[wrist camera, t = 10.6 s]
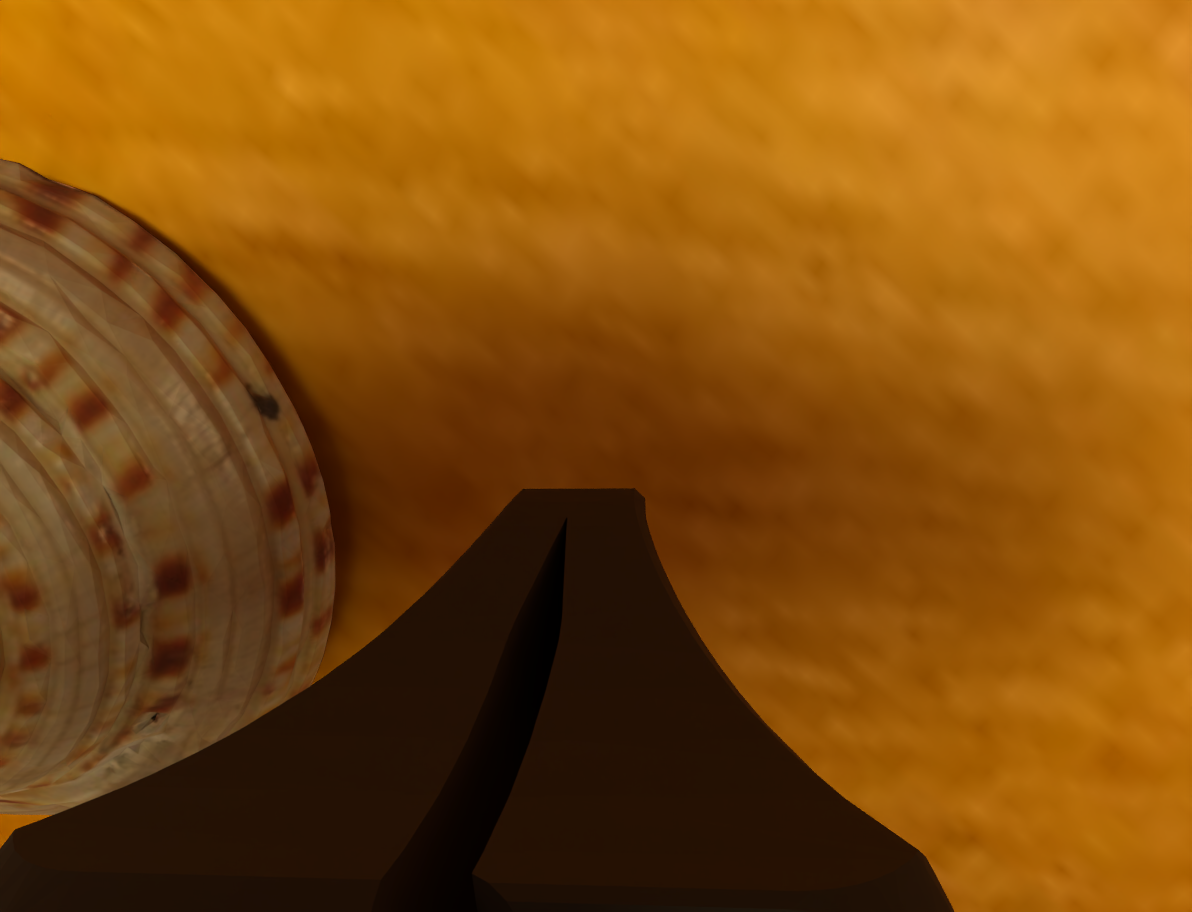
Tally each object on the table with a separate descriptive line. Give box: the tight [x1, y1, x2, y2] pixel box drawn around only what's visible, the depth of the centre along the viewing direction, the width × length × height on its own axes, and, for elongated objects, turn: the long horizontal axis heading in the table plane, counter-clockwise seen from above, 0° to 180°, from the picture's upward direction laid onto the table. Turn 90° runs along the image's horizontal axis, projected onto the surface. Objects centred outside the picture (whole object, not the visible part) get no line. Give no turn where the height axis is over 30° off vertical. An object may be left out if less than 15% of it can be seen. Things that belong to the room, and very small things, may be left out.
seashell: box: [0, 159, 335, 815], centre depth 14 cm, size 8×6×8 cm
